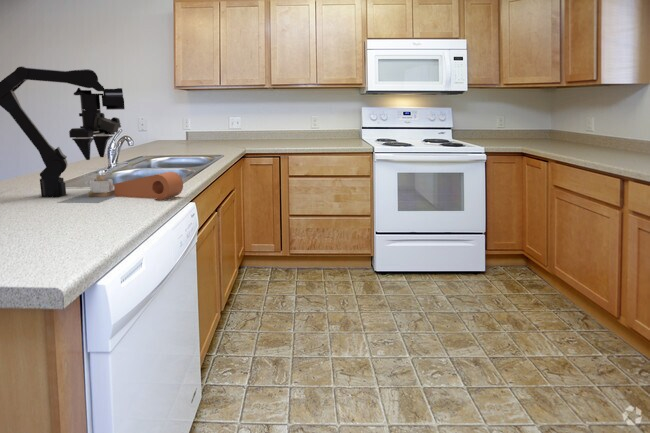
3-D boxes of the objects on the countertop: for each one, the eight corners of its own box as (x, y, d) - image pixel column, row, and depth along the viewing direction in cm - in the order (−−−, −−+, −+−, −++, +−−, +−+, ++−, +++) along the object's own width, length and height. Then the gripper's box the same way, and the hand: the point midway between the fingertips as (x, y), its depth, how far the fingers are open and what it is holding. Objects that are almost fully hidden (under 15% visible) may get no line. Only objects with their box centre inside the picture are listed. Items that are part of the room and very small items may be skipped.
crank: (183, 197, 184) (182, 172, 182) (169, 201, 176) (168, 175, 175) (130, 192, 190) (129, 168, 188) (114, 196, 182) (113, 171, 181)
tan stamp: (88, 197, 181) (86, 176, 180) (97, 194, 187) (96, 174, 186) (106, 197, 181) (105, 176, 179) (115, 194, 186) (113, 174, 185)
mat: (56, 204, 172) (56, 202, 171) (85, 195, 188) (85, 193, 188) (98, 204, 170) (97, 202, 170) (123, 195, 187) (123, 194, 187)
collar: (87, 192, 181) (86, 181, 180) (97, 189, 187) (96, 178, 186) (106, 192, 180) (105, 181, 179) (116, 189, 186) (115, 178, 186)
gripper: (100, 110, 174) (105, 161, 177) (127, 109, 192) (131, 156, 195) (66, 110, 175) (70, 161, 178) (96, 109, 193) (100, 156, 196)
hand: (95, 158), depth 187 cm, fingers open, 9 cm apart
